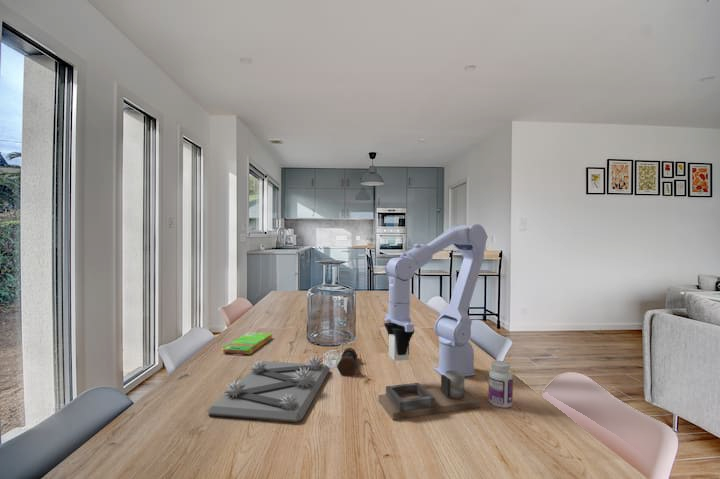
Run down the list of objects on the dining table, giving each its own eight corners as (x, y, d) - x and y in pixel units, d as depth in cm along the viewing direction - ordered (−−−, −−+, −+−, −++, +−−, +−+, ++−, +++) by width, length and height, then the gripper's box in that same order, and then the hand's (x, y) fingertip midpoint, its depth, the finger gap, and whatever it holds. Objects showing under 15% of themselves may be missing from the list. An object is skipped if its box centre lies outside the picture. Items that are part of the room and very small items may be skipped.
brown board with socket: (458, 391, 90) (458, 365, 90) (480, 407, 82) (480, 379, 82) (378, 401, 84) (378, 374, 84) (392, 420, 75) (393, 390, 75)
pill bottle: (503, 397, 87) (503, 358, 87) (517, 407, 82) (517, 366, 82) (483, 399, 86) (484, 360, 86) (496, 409, 81) (497, 367, 81)
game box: (272, 341, 135) (247, 356, 115) (248, 340, 136) (219, 354, 116) (272, 333, 135) (247, 346, 115) (248, 332, 136) (220, 345, 116)
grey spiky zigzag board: (260, 368, 106) (260, 344, 106) (330, 372, 103) (330, 348, 103) (204, 418, 76) (204, 386, 76) (300, 426, 73) (301, 392, 73)
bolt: (352, 363, 115) (349, 380, 100) (339, 355, 115) (333, 371, 100) (361, 348, 115) (359, 363, 100) (348, 340, 115) (344, 353, 100)
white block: (403, 354, 98) (404, 333, 98) (409, 359, 94) (410, 337, 94) (388, 355, 96) (389, 334, 96) (394, 360, 93) (394, 338, 93)
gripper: (376, 297, 101) (375, 344, 101) (395, 307, 87) (394, 362, 87) (399, 297, 103) (398, 343, 103) (421, 306, 89) (420, 359, 89)
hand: (398, 351), depth 95 cm, fingers closed on white block, 4 cm apart
